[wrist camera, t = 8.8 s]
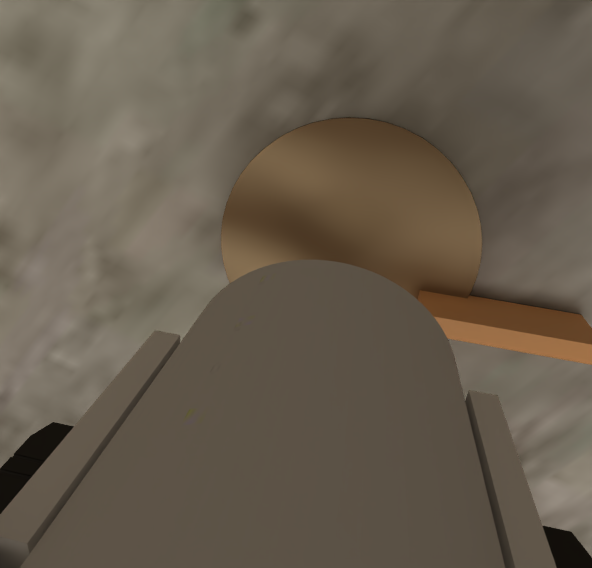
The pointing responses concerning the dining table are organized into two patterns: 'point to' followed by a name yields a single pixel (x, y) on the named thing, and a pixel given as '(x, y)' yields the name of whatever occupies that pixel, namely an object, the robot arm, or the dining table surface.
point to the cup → (291, 441)
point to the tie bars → (512, 326)
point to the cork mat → (356, 207)
